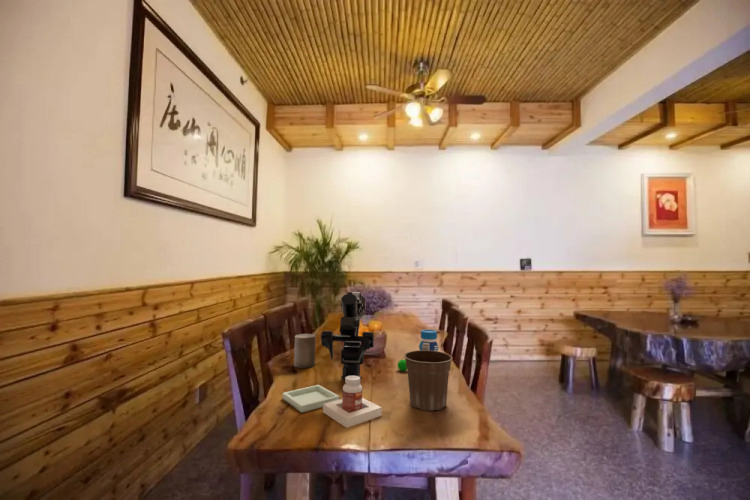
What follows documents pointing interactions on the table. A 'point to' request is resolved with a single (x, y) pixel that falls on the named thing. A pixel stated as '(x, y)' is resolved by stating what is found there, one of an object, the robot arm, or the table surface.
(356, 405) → the pill bottle
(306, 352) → the pillar candle
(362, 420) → the socket block
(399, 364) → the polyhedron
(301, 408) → the parts tray
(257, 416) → the table surface
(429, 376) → the plant pot
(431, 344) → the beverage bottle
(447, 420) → the table surface
